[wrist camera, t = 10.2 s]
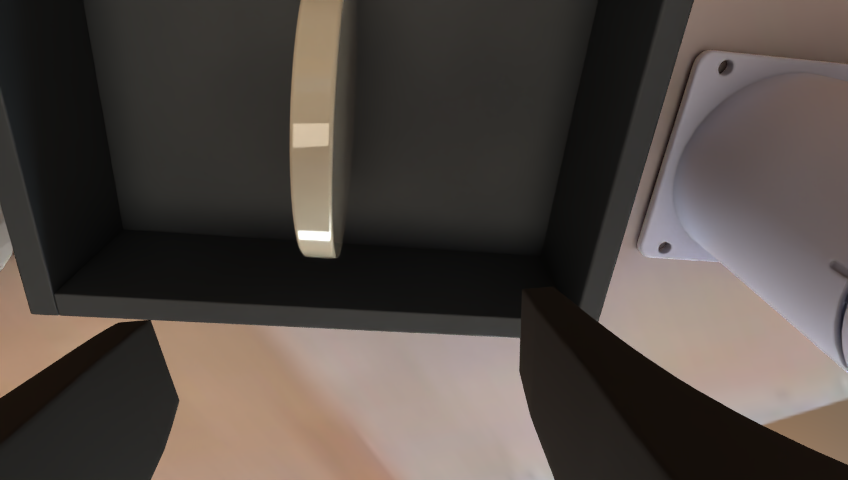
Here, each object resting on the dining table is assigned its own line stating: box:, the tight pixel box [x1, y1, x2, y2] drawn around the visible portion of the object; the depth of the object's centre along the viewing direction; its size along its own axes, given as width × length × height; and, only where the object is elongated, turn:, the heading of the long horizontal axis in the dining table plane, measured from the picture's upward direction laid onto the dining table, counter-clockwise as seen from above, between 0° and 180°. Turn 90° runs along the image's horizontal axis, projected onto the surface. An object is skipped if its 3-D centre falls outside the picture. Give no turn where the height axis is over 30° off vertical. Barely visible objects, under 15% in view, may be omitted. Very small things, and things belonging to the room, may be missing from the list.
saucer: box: [289, 0, 357, 259], centre depth 14 cm, size 1×8×8 cm, turn 174°
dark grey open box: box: [0, 0, 694, 338], centre depth 16 cm, size 18×13×5 cm
